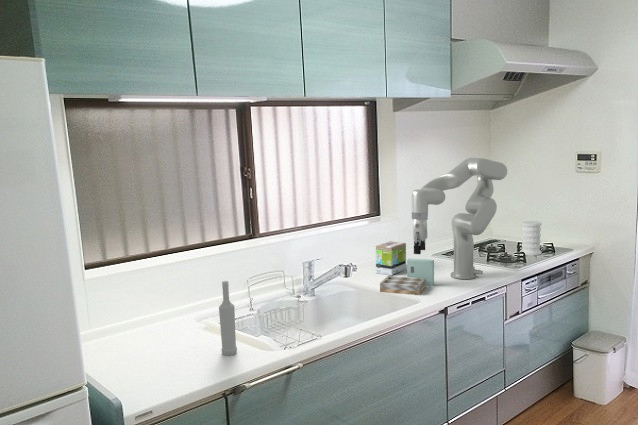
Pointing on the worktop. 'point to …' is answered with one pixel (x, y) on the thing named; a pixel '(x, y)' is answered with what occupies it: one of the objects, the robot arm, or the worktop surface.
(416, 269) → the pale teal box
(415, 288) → the track base
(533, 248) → the decorative container
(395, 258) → the tea box
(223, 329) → the bottle
